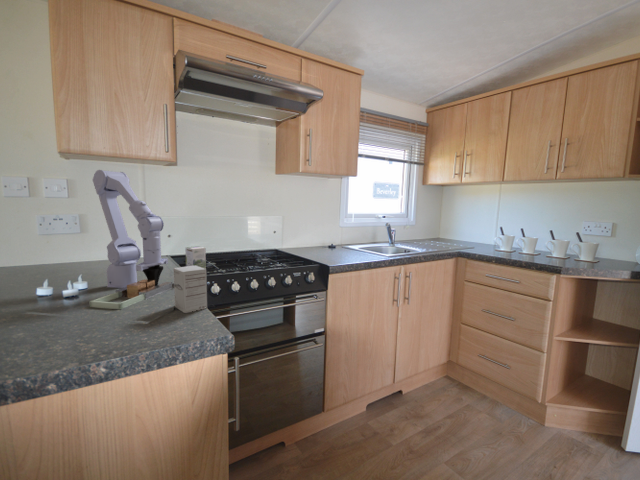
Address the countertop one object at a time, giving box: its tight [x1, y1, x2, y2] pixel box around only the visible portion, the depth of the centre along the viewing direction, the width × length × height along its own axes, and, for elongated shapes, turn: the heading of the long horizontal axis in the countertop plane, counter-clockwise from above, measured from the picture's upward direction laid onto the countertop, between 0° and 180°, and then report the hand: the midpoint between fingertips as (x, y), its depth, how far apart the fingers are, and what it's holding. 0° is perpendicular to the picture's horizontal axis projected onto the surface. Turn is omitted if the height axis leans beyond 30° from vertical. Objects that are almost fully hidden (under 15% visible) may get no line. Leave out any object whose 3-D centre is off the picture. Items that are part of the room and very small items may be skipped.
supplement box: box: [173, 265, 208, 314], centre depth 98 cm, size 7×7×13 cm
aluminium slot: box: [114, 281, 174, 300], centre depth 113 cm, size 12×14×3 cm
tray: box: [88, 292, 146, 310], centre depth 101 cm, size 11×11×2 cm
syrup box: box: [185, 245, 207, 270], centre depth 130 cm, size 6×6×14 cm
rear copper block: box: [137, 278, 155, 289], centre depth 113 cm, size 4×4×4 cm
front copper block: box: [127, 281, 146, 297], centre depth 109 cm, size 4×4×4 cm
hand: (153, 286), depth 117 cm, fingers closed
